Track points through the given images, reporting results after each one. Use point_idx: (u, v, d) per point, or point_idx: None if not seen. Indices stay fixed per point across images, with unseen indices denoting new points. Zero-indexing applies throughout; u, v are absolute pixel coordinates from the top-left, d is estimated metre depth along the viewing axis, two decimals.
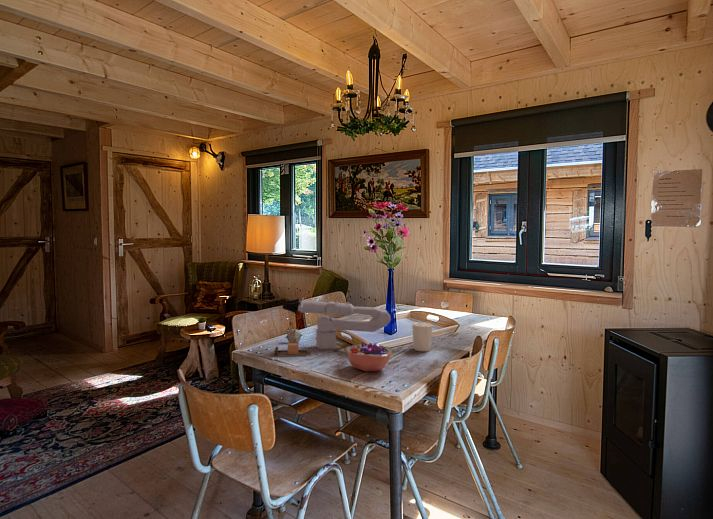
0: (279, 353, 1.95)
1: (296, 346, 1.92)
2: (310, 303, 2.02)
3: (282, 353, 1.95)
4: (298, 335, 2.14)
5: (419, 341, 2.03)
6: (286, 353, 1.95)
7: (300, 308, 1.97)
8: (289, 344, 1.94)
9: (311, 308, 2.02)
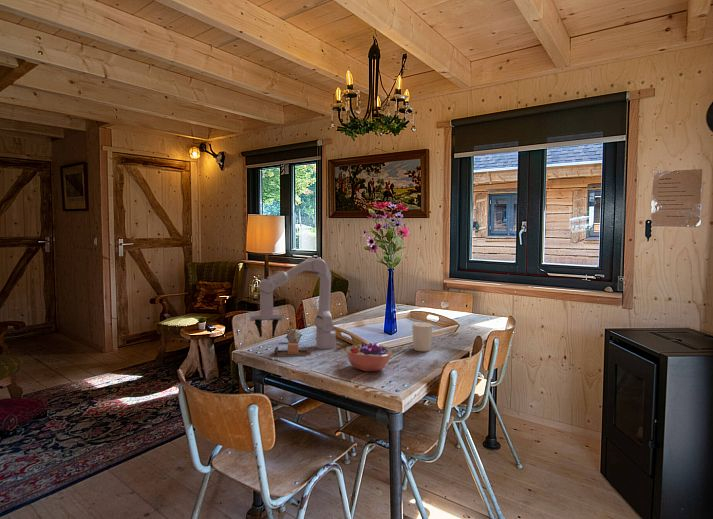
0: (279, 353, 1.95)
1: (296, 346, 1.92)
2: (270, 309, 1.91)
3: (282, 353, 1.95)
4: (298, 335, 2.14)
5: (419, 341, 2.03)
6: (286, 353, 1.95)
7: None
8: (289, 344, 1.94)
9: None
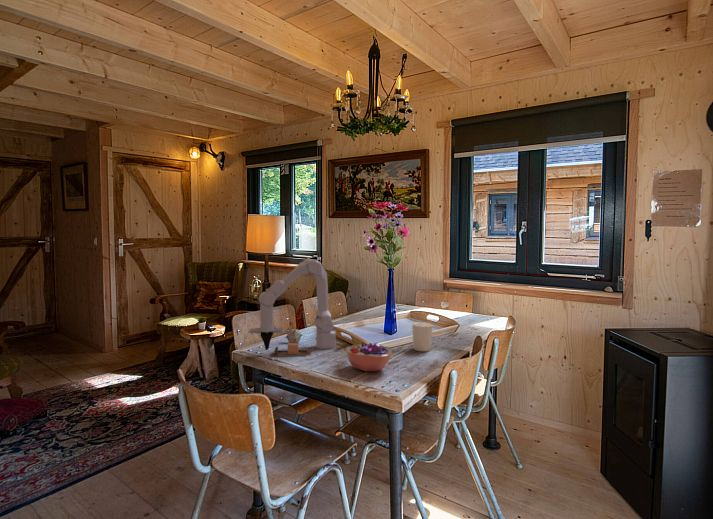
0: (279, 353, 1.95)
1: (296, 346, 1.92)
2: (270, 321, 1.91)
3: (282, 353, 1.95)
4: (298, 335, 2.14)
5: (419, 341, 2.03)
6: (286, 353, 1.95)
7: None
8: (289, 344, 1.94)
9: None
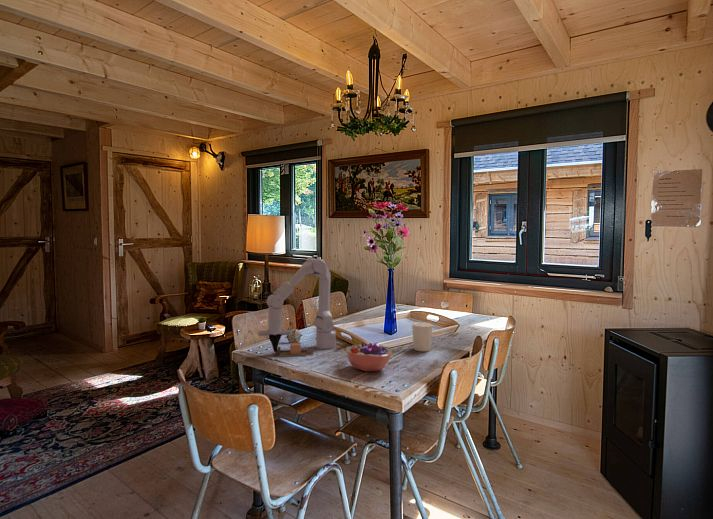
0: (281, 353, 1.95)
1: (299, 346, 1.93)
2: (279, 324, 1.91)
3: (284, 353, 1.95)
4: (298, 335, 2.14)
5: (419, 341, 2.03)
6: (288, 353, 1.95)
7: (291, 332, 1.94)
8: (292, 344, 1.94)
9: (281, 321, 1.94)
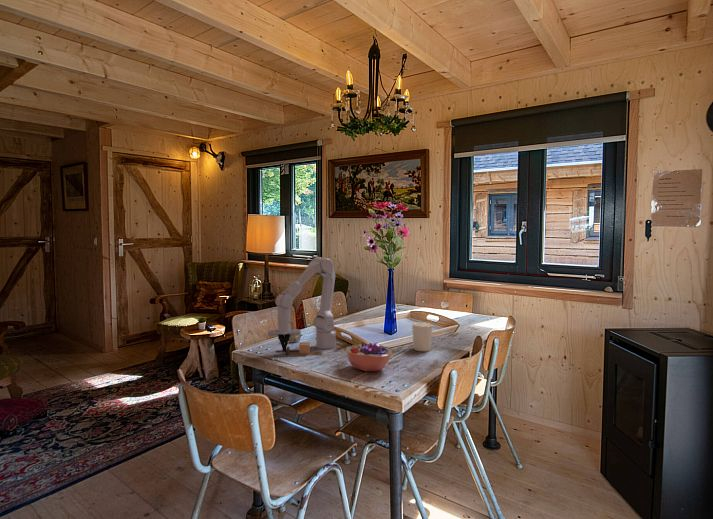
0: (291, 353, 1.96)
1: (308, 346, 1.93)
2: (288, 324, 1.92)
3: (294, 353, 1.96)
4: (298, 335, 2.14)
5: (419, 341, 2.03)
6: (298, 353, 1.96)
7: (300, 332, 1.94)
8: (301, 344, 1.94)
9: (290, 321, 1.94)
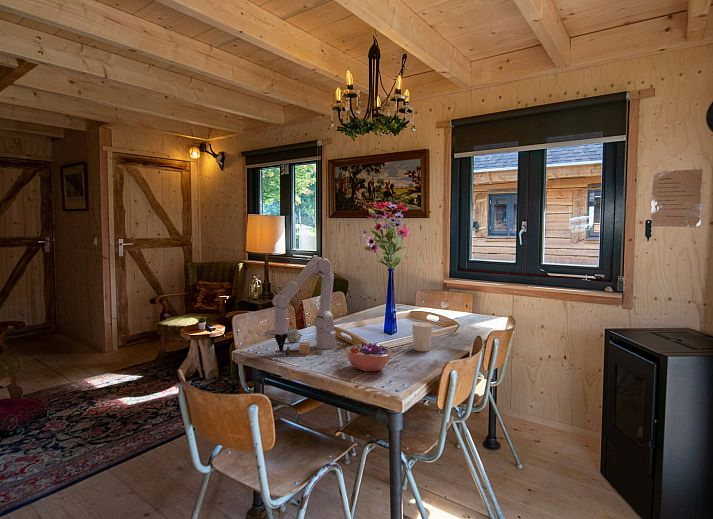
0: (291, 353, 1.96)
1: (308, 346, 1.93)
2: (285, 324, 1.92)
3: (294, 353, 1.96)
4: (298, 335, 2.14)
5: (419, 341, 2.03)
6: (298, 353, 1.96)
7: None
8: (301, 344, 1.94)
9: None
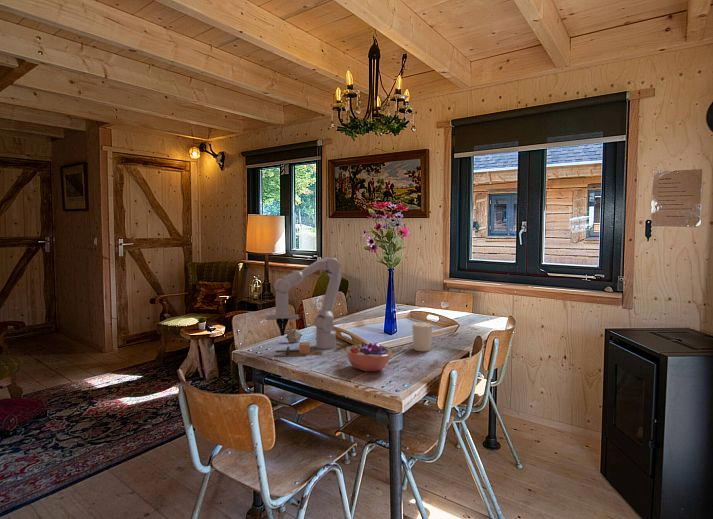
0: (291, 353, 1.96)
1: (308, 346, 1.93)
2: (286, 308, 1.93)
3: (294, 353, 1.96)
4: (298, 335, 2.14)
5: (419, 341, 2.03)
6: (298, 353, 1.96)
7: (298, 316, 1.96)
8: (301, 344, 1.94)
9: (288, 305, 1.95)
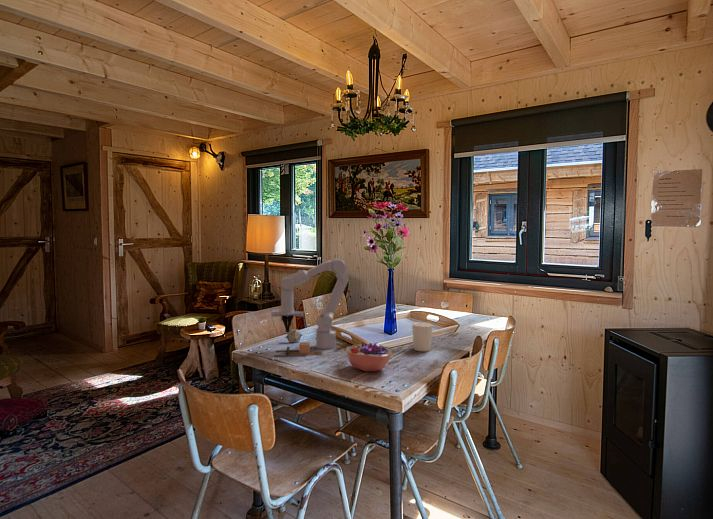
0: (291, 353, 1.96)
1: (308, 346, 1.93)
2: (291, 305, 2.00)
3: (294, 353, 1.96)
4: (298, 335, 2.14)
5: (419, 341, 2.03)
6: (298, 353, 1.96)
7: None
8: (301, 344, 1.94)
9: (293, 303, 2.02)
